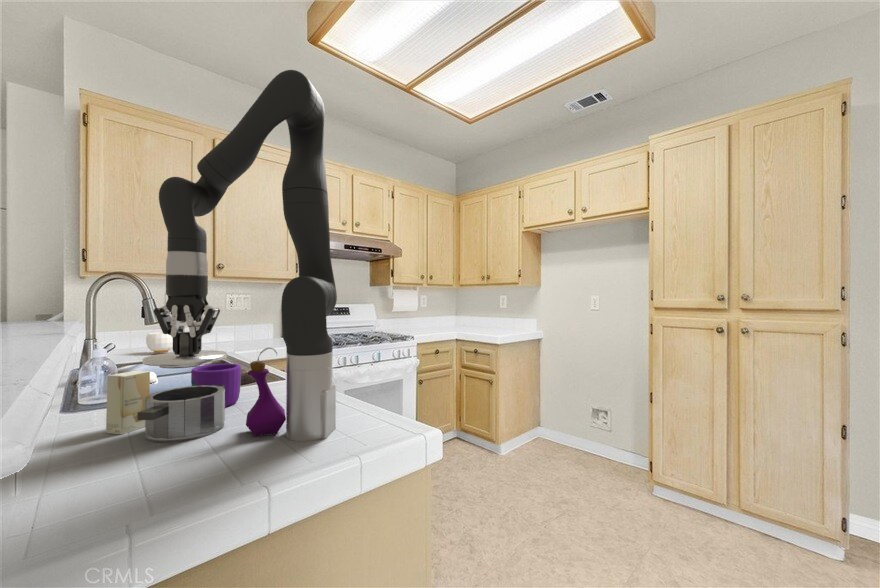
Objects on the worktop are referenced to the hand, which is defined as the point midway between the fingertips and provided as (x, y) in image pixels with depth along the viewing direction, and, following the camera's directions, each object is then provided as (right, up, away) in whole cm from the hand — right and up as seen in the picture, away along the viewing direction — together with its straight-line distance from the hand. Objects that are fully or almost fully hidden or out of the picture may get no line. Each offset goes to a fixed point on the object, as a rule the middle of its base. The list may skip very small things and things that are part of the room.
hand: (186, 353), depth 81 cm
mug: (-7, -17, +21) cm, 28 cm away
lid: (0, -2, 0) cm, 2 cm away
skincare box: (-13, -17, +1) cm, 21 cm away
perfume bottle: (+17, -17, -1) cm, 24 cm away
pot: (0, -16, 0) cm, 16 cm away
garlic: (-43, -17, +44) cm, 63 cm away
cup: (-87, -17, +110) cm, 141 cm away
